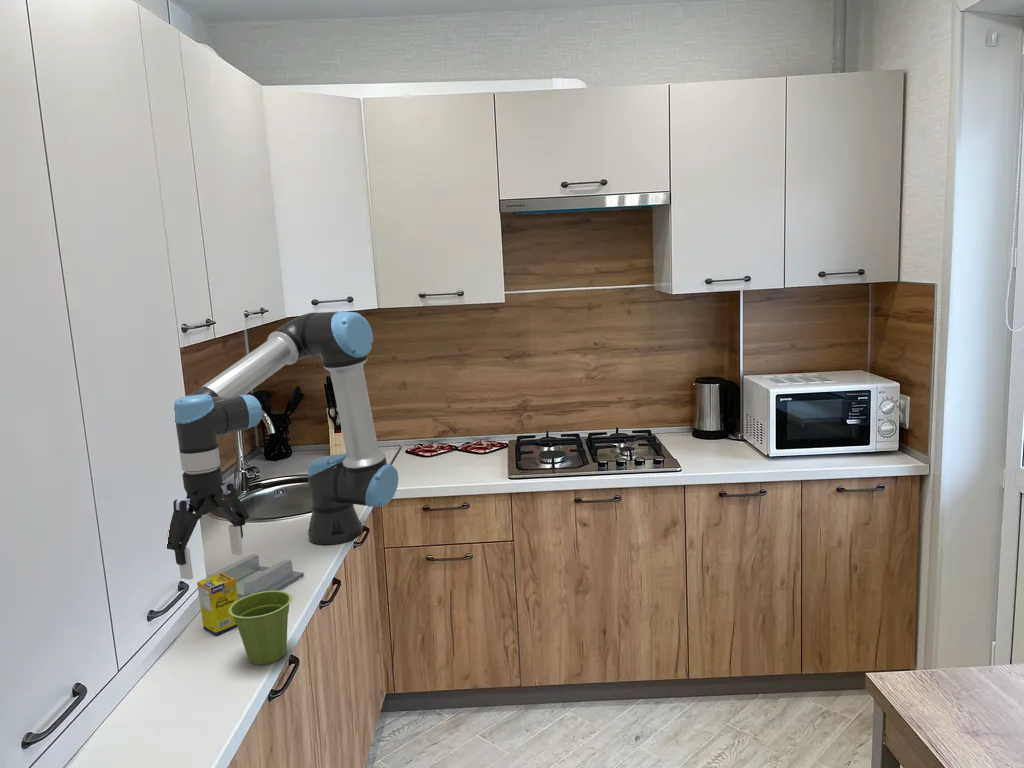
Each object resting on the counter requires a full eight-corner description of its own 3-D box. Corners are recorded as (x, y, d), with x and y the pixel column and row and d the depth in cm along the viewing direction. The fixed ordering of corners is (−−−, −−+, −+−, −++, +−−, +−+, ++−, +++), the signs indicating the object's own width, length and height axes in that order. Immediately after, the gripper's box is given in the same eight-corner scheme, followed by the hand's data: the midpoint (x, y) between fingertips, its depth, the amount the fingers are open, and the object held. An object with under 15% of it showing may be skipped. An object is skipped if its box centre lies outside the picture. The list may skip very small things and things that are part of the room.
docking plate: (256, 568, 192) (253, 550, 191) (303, 576, 185) (301, 557, 184) (200, 598, 176) (197, 578, 176) (250, 608, 169) (247, 587, 169)
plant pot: (285, 635, 156) (279, 584, 154) (307, 656, 146) (300, 603, 144) (227, 655, 149) (220, 602, 147) (246, 679, 139) (239, 623, 137)
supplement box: (242, 625, 161) (236, 578, 159) (216, 636, 157) (209, 588, 155) (228, 618, 165) (222, 571, 163) (202, 629, 161) (196, 581, 159)
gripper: (234, 453, 168) (244, 543, 171) (136, 484, 146) (150, 586, 149) (258, 455, 165) (268, 547, 168) (163, 487, 143) (176, 591, 146)
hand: (213, 565), depth 158 cm, fingers open, 13 cm apart
